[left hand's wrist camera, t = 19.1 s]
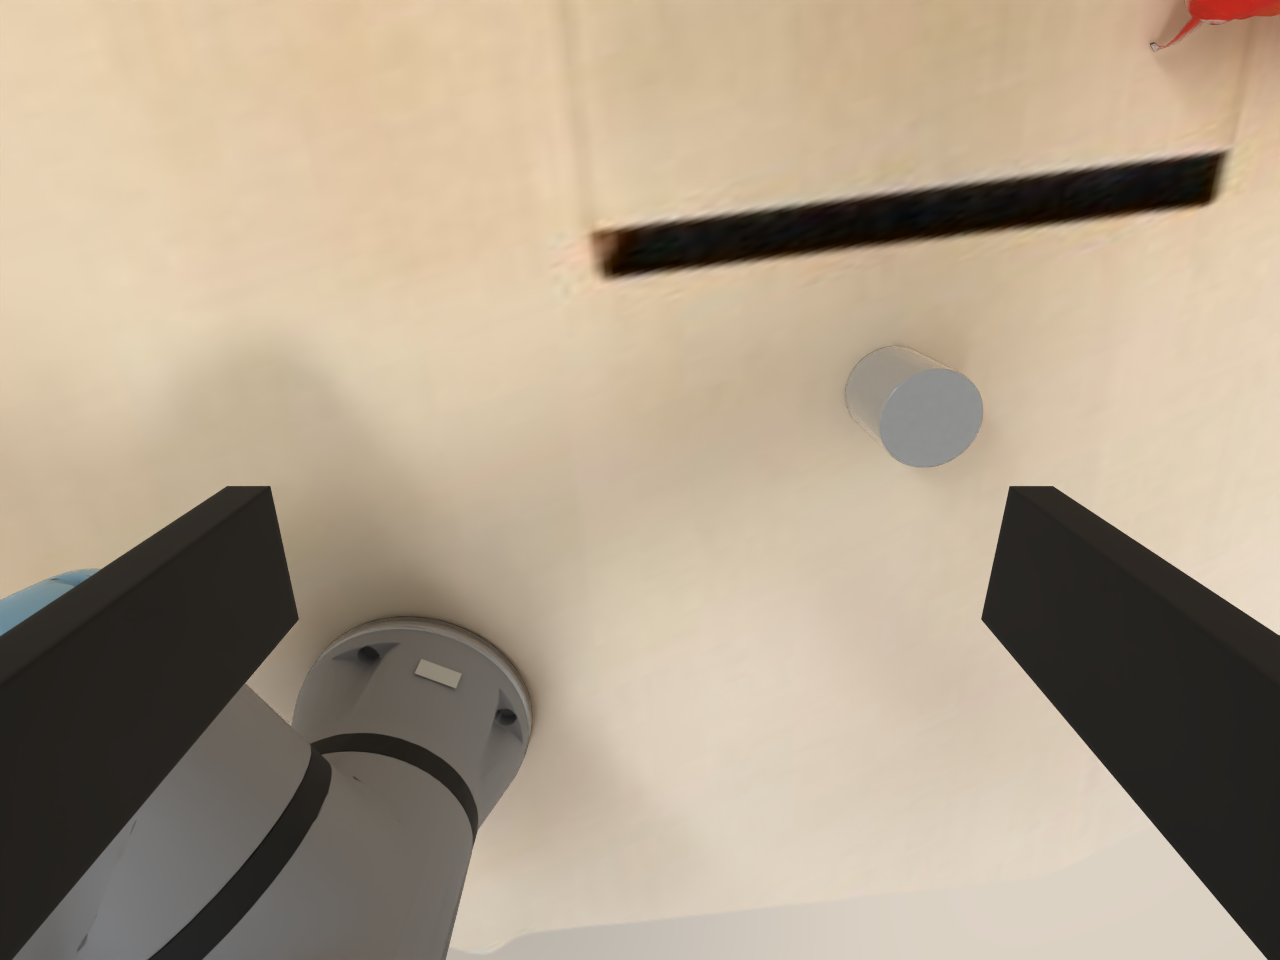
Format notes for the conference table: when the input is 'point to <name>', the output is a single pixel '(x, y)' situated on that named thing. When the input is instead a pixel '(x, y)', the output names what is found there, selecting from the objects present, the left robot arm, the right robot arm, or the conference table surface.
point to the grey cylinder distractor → (914, 406)
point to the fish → (1221, 14)
